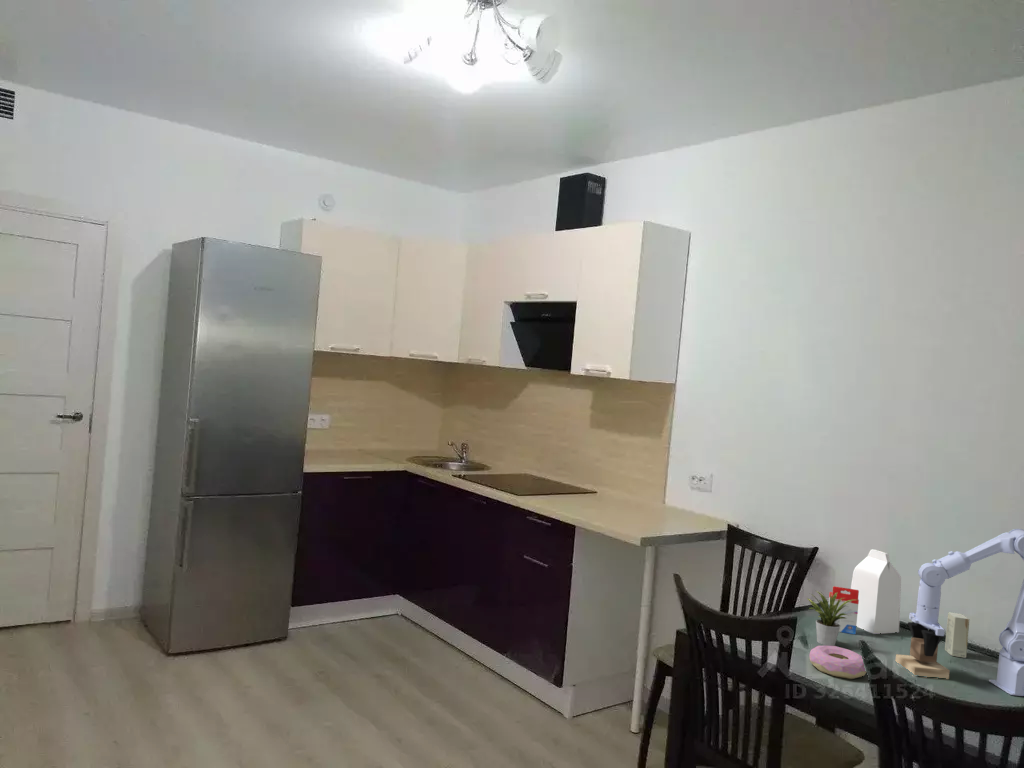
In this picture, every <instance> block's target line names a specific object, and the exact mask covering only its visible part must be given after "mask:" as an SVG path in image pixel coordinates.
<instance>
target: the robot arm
mask: <svg viewBox="0 0 1024 768" xmlns="http://www.w3.org/2000/svg"><path fill="white" fill-rule="evenodd" d="M1015 552H1016V553H1017V554H1018V555H1019V556H1020V558H1021V559H1022V561H1023V562H1024V529H1022V528H1014V529H1011V530H1009V531H1008V532H1007V531H1006V532H1003V533H1000V534H999V535H997V536H995V537H993V538H991V539H989V540H987V541H984V542H983V543H980V544H979V545H977V546H975V547H973V548H970V549H969V550H967V551H965V552H962V551H960V550H956V551H953V550H950V551H948V552H947V553H948V554H947V555H945V556H943V557H941V558H940V557H939V558H938V559H936V558H934V559H932V560H931V562H926V563H923V564H921V566H920V567H919V569H918V570H917V573H918V576H919V578H920V579H919V586H918V591H917V600H916V601H917V603H916V610H915V612H909V616H908V619H909V620H910V621H908V622H907V625H908V627H909V629H910V633H911V637H912V638H924V653H925V655H926V656H933V655H934V653H935V650H936V648H937V646H938V647H939V644H940V643H941V641H942V640H943V639H944V638H945V632H946V631H945V628H943V627H942V626H941V625H940V623H939V616H940V606H941V595H942V586H943V584H944V583H945V581H946V580H947V579H951V578H953V577H955V576H958V575H959V574H963V573H965V572H967V571H969V570H970V569H971V566H972V564H973V563H974V564H975V563H976V562H979V561H981V560H983V559H986V558H989V557H991V556H994V555H997V554H999V553H1002V554H1003V553H1004V554H1010V555H1014V554H1016V553H1015ZM998 641H999V644H1000V645H1001V647H1002V648H1001V649H1000V650H999V654H998V655H999V656H998V663H997V664H998V665H997V672H996V673H997V674H996V679H988V681H989V683H991V684H993V685H995V686H996V687H998V688H999V689H1001V690H1002V691H1003V692H1005V693H1007V694H1008V695H1011V696H1019V697H1024V579H1023V580H1022V584H1021V585H1020V591H1019V593H1018V597H1017V600H1016V604H1015V606H1014V610H1013V613H1012V616H1011V618H1010V619H1009V621H1008V622H1007V623H1006V626H1005V628H1004V629H1003V630H1002V631H1000V633H999V636H998Z"/></svg>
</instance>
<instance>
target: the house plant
mask: <svg viewBox="0 0 1024 768" xmlns="http://www.w3.org/2000/svg"><path fill="white" fill-rule="evenodd" d="M815 592H817V593H818V595H819V596H820V598H821V599H822V600H821V599H818V598H817V597H816V596H815V595H813V594H812V593H810V595H812V596H813V597H814V599H816V601H817V602H818V603H819V605H820V606H819V605H818V604H817V603H816V602H815V601H813V600H812V599H810V598H808V597H807V598H806V599H807V601H808V602H809V603H810V605H811V606H813V607H808V610H810V609H811V610H812V609H813V610H814V611H815V612H817V613H818V614H819V615H818V617H817V618H820V619H816V620H815V627H816V631H815V632H816V641H817V643H818V644H821V645H822V646H836V642H837V639H838V635H839V633H840V632H839V629H840V625H839V624H838V623H836V622H835V621H836V620H838V619H847V618H845V617H840V616H842V615H847V614H845V613H841V614H839V615H837V613H838V612H839V611H840V610H841V609H842V608H844V607H845V606H846V605H845V604H846V603H848V602H850V601H853V600H848V601H846V602H844V603H843V604H842V605H840V606H839V608H838V609H837V607H838V605H839V603H840V601H841V599H842V598H841V599H839V600H838V602H837V603H836V605H834V602H835V599H836V597H837V592H836V593H835V594H834V595H833V597H832V595H831V593H830V592H829V593H830V606H829V605H828V604H829V601H828V600H827V598H826V596H825V595H824V593H823V592H822V591H821V590H819V591H817V590H815ZM844 605H845V606H844ZM847 605H848V604H847ZM833 612H834V613H833ZM832 615H833V616H832ZM836 615H837V616H836Z"/></svg>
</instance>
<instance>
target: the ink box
mask: <svg viewBox="0 0 1024 768" xmlns="http://www.w3.org/2000/svg"><path fill="white" fill-rule="evenodd" d="M845 591H846V592H848V593H846V592H845ZM836 592H837V597H836V599H835V602H834V605H836V603H837V602H838V600H839V599H841V598H842V599H841V601H840V603H839V605H838V607H837V609H838V608H839V606H840V605H842V604H843V603H844V602H846V601H848V600H853V601H850V602H848V603H846V604H845V605H846V606H845V605H844V606H845V607H844V608H842V609H841V610H840V611H839V612H838V613H837V615H839V614H841V613H845V614H847V615H842V616H840V617H845V618H847V619H838V620H836V621H835V622H836V623H838V624H839V625H840V629H839V632H838V633H844V634H850V635H856V634H857V627H856V624H857V614H858V603H859V600H858V595H859V590H855V589H851V588H847V587H841V586H840V587H839V586H835V585H834V586H832V591H829V592H828V593H829V595H828V596H829V597H828V605H829V606H830V593H831V595H832V597H833V595H834V594H835V593H836ZM847 604H848V605H847ZM833 613H834V612H833ZM837 615H836V616H837ZM832 616H833V615H832Z"/></svg>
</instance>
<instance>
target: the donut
mask: <svg viewBox="0 0 1024 768" xmlns="http://www.w3.org/2000/svg"><path fill="white" fill-rule="evenodd" d="M808 656H809V662H810V663H811V664H812V665H813V667H815V668H816V669H817V670H818V671H819V672H820V673H824V674H827V675H829V676H833V677H836V678H837V677H838V678H843V679H847V680H848V679H849V680H854V679H858V678H863V677H864V676H865V675H866V673H867V672H866V671H865V668H864V663H863V659H862V655H861V654H858V652H855V651H853V650H850V649H847V648H844V647H839V646H836V645H834V646H826V645H817V646H815V647H813V648H812V649H810V652H809V655H808ZM862 676H863V677H862Z"/></svg>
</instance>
